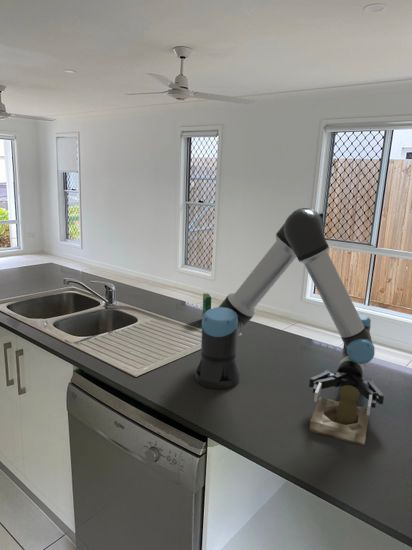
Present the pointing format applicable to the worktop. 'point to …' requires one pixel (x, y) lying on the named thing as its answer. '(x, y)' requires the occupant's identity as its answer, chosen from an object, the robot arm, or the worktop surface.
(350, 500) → the worktop surface
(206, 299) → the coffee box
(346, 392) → the olive green peg
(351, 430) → the holder block
